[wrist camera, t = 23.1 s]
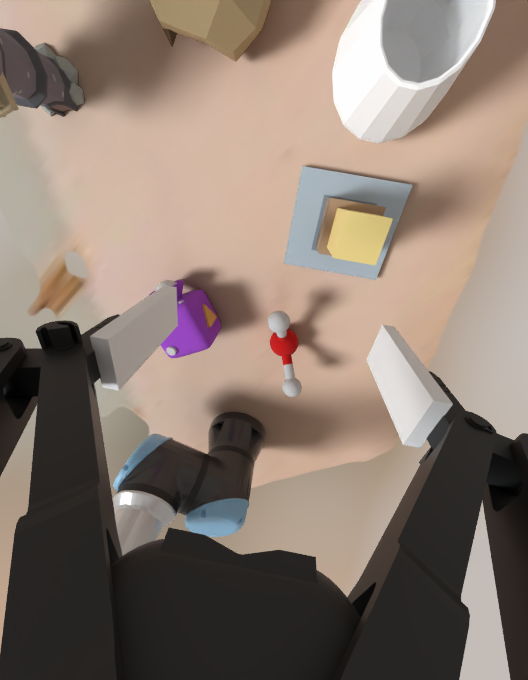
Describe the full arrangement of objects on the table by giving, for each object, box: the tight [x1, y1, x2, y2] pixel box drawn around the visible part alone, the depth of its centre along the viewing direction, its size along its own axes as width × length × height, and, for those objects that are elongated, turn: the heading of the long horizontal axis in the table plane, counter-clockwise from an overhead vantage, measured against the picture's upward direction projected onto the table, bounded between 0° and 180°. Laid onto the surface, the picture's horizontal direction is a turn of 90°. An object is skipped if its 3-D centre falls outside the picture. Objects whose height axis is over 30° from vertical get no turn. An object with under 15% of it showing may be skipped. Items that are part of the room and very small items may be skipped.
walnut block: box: [316, 198, 386, 256], centre depth 36 cm, size 7×7×6 cm
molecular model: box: [268, 311, 302, 397], centre depth 47 cm, size 18×6×10 cm, turn 12°
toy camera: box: [150, 280, 221, 358], centre depth 46 cm, size 11×14×10 cm
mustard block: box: [327, 208, 393, 266], centre depth 31 cm, size 5×5×7 cm
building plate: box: [284, 166, 413, 280], centre depth 40 cm, size 14×16×1 cm
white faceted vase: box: [332, 0, 496, 144], centre depth 25 cm, size 13×13×14 cm
